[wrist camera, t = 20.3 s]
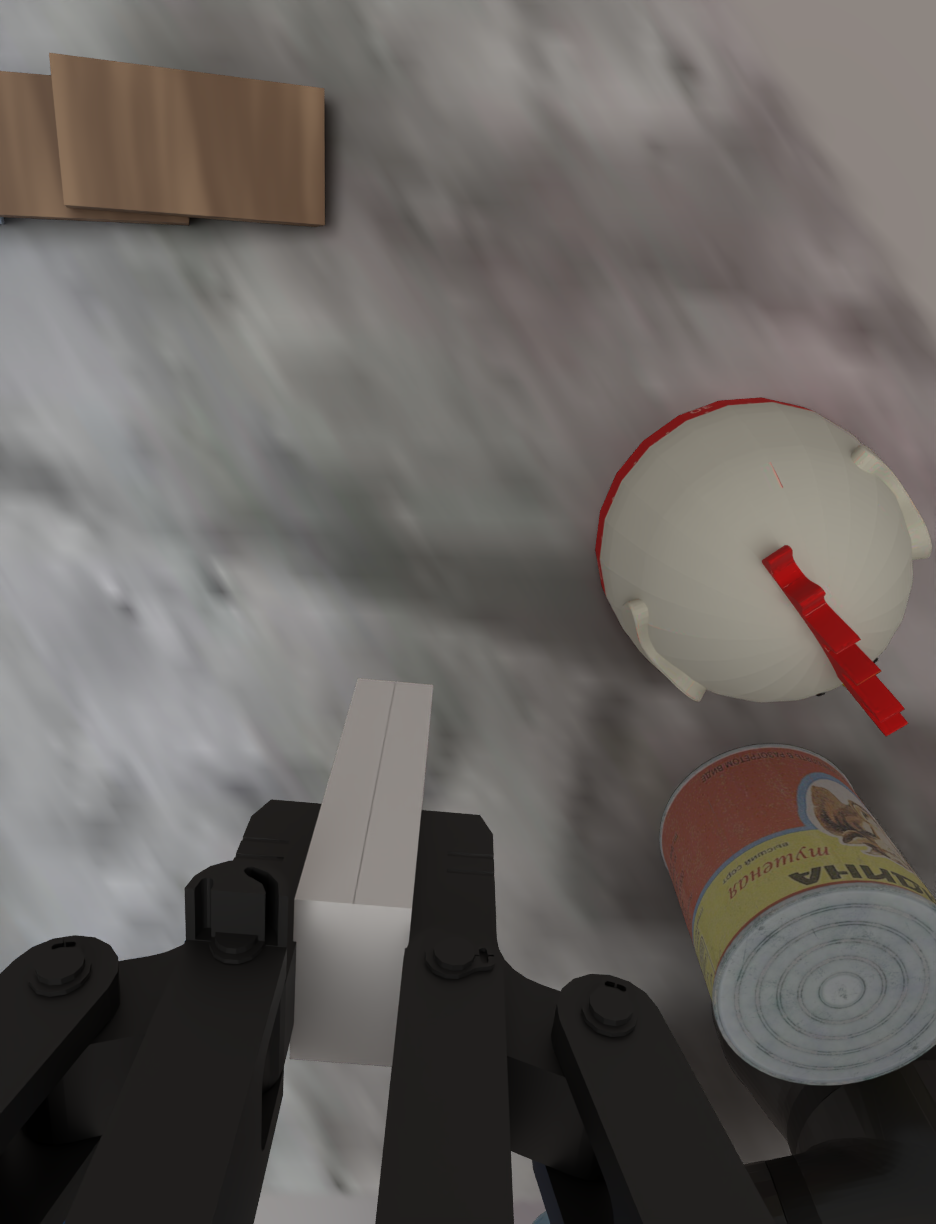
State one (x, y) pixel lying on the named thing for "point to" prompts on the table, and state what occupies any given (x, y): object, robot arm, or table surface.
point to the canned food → (802, 917)
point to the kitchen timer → (761, 555)
